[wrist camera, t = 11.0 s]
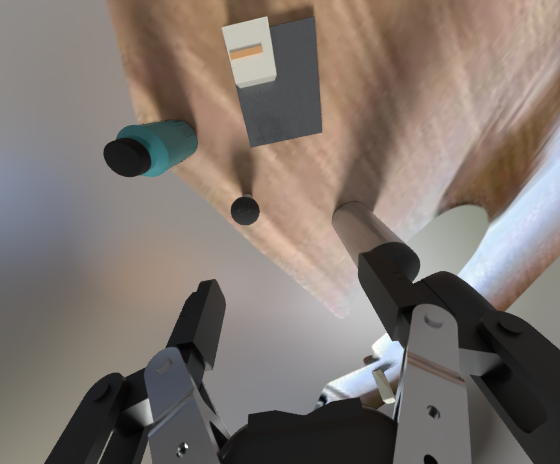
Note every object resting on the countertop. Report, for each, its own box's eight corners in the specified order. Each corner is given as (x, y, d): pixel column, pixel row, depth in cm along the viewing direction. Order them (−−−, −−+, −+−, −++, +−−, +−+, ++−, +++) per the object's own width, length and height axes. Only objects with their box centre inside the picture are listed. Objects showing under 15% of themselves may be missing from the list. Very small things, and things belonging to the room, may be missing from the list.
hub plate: (312, 20, 32) (321, 2, 27) (320, 131, 40) (328, 134, 35) (225, 40, 32) (218, 27, 27) (251, 146, 40) (249, 151, 35)
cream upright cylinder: (383, 372, 94) (397, 401, 85) (375, 375, 95) (387, 404, 86) (379, 368, 92) (393, 397, 83) (371, 371, 93) (383, 401, 84)
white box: (266, 32, 31) (267, 15, 25) (274, 80, 34) (276, 74, 28) (228, 41, 31) (221, 26, 26) (240, 88, 34) (235, 83, 29)
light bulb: (230, 198, 46) (222, 219, 37) (245, 180, 44) (241, 197, 35) (249, 213, 48) (246, 235, 39) (265, 196, 46) (265, 216, 38)
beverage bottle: (191, 113, 37) (128, 115, 20) (207, 150, 40) (165, 180, 23) (158, 124, 37) (70, 135, 20) (177, 160, 41) (114, 195, 24)
